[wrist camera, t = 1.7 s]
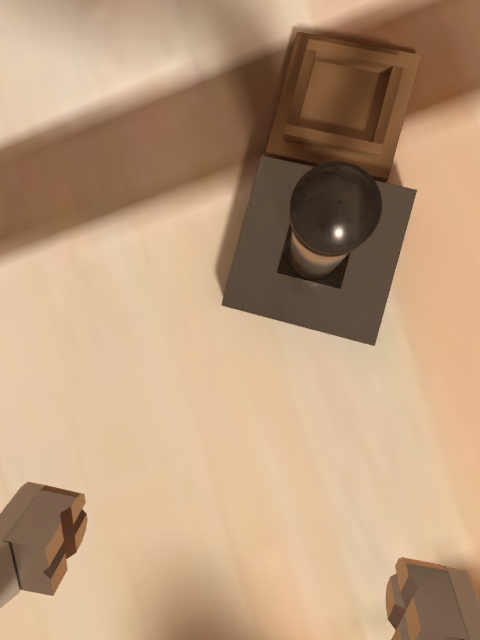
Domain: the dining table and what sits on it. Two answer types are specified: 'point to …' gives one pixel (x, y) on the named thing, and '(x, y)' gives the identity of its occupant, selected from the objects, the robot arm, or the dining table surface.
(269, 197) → the socket block
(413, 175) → the dining table surface
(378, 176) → the square wooden tray
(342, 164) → the lidded glass canister
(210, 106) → the dining table surface
